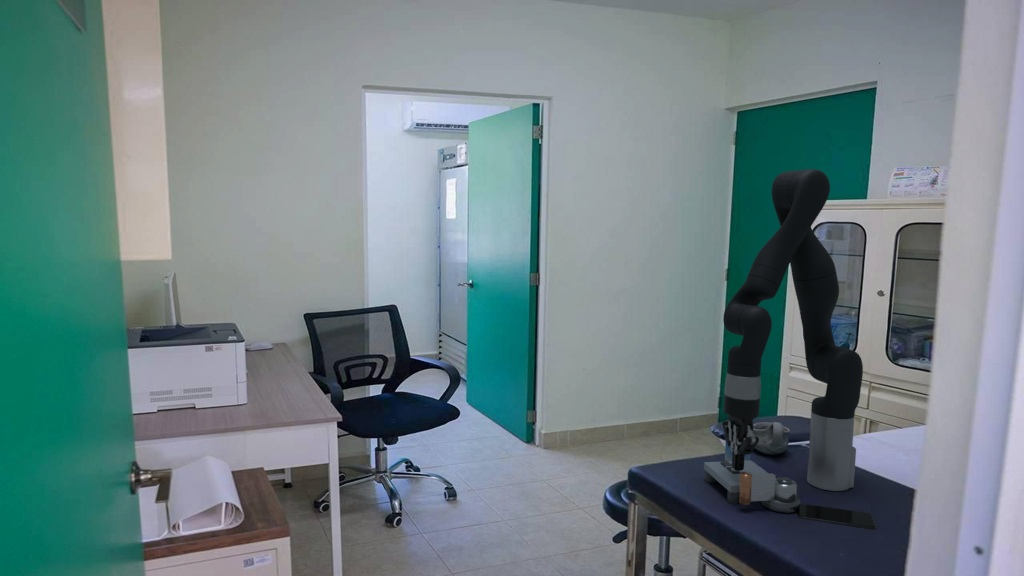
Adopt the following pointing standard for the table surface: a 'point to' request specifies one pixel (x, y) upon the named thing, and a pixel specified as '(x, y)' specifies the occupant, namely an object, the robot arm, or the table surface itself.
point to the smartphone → (836, 516)
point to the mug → (771, 437)
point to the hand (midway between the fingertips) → (737, 469)
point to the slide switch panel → (729, 476)
